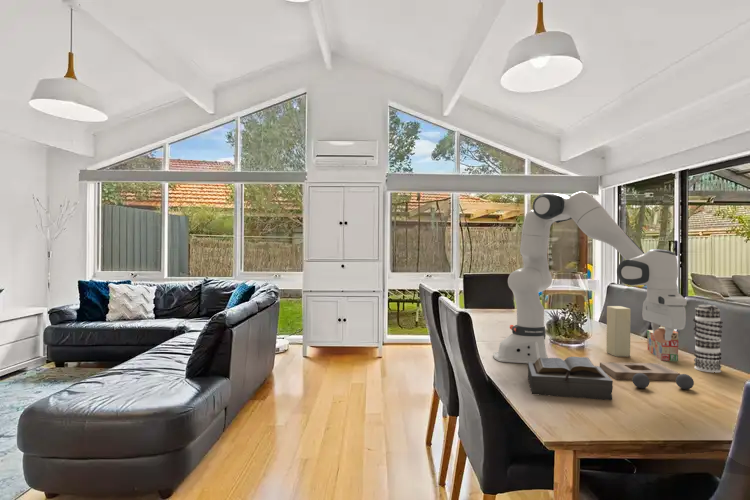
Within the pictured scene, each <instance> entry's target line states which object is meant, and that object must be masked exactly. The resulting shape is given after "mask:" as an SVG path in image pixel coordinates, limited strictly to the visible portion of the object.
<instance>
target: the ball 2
mask: <svg viewBox="0 0 750 500" xmlns="http://www.w3.org/2000/svg"><path fill="white" fill-rule="evenodd" d="M675 383H676V385H677V387H679V388H680V389H682V390H691V389H692V388H693V387H694V384H695V381H694V379H693V377H692V376H691V375H689V374H687V373H680V375H678V376H677V378H676V380H675Z"/></svg>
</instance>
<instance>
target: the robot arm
mask: <svg viewBox="0 0 750 500" xmlns="http://www.w3.org/2000/svg"><path fill="white" fill-rule="evenodd" d="M524 217H525V218H524V219H523V224H522V229H521V230H522V231H521V236H520V238H521V239H520V247H519V253H520V256H521V258H522V261H523V267H520V268H518V269H515V270H514V271H511V273H509V275H508V278H507V286H508V288H509V289H510V290H511V291H512V294H513V297H514V301H515V306H516V324H515V325H514V324H510V325H509V329H510V330H511V334H509V335H508V336H507V337H505V338H504V339H502V340H501V341H500V343H499V346H498V350H497V351H495V352H493V355H492V357H493V358H494V359H495V360H496V361H498V362H503V363H518V364H528V362H531V363H535V362H536V361H537V360H538V359H539V358H549V356H548V354H547V348H546V334H547V333H546V326H545V307H544V305H543V304H542V301H541V299H540V295H539V293H541V292H544V291H546V290H547V289H549V288H550V286H551V285H552V282H553V276H552V274H551V272H550V268H549V261H548V258H549V257H548V251H549V239H550V230H551V226H552V225H553V224H554V223H557V224H558V223H562V222H566V221H570V220H573V221H574V223H575V224H576V226H577V227H578V228H579V229H580V231H581V232H582V233H583V234H585V235H586V236H587V237H588V238H590V239H593V240H595V241H599V242H602V243H604V244H607V245H609V246H611V247H612V248H613V249H615V250H616V251H617V253H619V254H620V255H621V256H622V258H624V260H622V261H621V262H620V263H619V264H618V266H617V268H616V276H617V278H618V280H619V281H620V282H621V283H622V284H624V285H627V286H630V287H631V286H634V287H637V286H646V297H645V300H643V303H642V312H641V313H642V315H641V316H642V320H643V321H646V322H650V325H651V326H650V327H651V330H653V334H654V331H655V330H656V329H659V327H660V326H661V327H665V330H666V331H665V334H663V339H664V340H667V341H671V335H672V333H673V331H674V330H675V331H677V330H684V329H685V327H686V323H687V321H686V320H687V318H686V317H687V312H686V306H687V305H688V303H687V302H688V301H687V298H685V297H684V296H683V295H682V294H680V293H679V287H678V285H677V284H678V283H677V280H678V278H679V266H678V259H677V256H676V254H675V253H674V251H671V250H667V249H661V248H660V249H659V248H652V249H649V250H648V251H646V252H644V250H642V249H641V248H640V246H638V245H637V244H636V242H635V241H634V240H633V239H632V238H631V237H630V236H629V235H628V234H627V233H626V232H625V231H624V230H623V229H622V228H621V227H620V225H619V224H618V223H617V222H616V221H615V220H614V219H613V217H611V215H610V213H608V211H607V210H606V209H605V208H604V206H603V205H602V204H601V203H600V202H599V201H598V200H597V199H596V198H595V197H593V196H592V195H591V194H589V193H588V192H586V191H577V192H574V193H573V194H571V195H568V194H563V193H559V192H556V193H552V192H544V193H541V194H539V195H537V197H535V199H534V200H533V202H532V209H530V210H529V211H528V212H527V213H526V215H525V216H524Z"/></svg>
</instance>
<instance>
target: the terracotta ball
mask: <svg viewBox="0 0 750 500" xmlns="http://www.w3.org/2000/svg"><path fill="white" fill-rule="evenodd" d="M665 331H666V330H665V329H664V328H659V329H656V330H655V331H654V334H653V335H654V339H655V340H656V341H657V342H659V343H667V342H668V341H667V340H664V339H663V334H665Z"/></svg>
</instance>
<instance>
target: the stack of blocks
mask: <svg viewBox="0 0 750 500" xmlns="http://www.w3.org/2000/svg"><path fill="white" fill-rule="evenodd" d="M659 328H664V329H665V327H664V326H661V327H660V326H659ZM646 336H647V338H646V339H647V350H648V351H649V352H650V353H651V354H653V355H654V356H656V357H657V358H658V359H659V360H660V361H662V362H663V361H666V362H667V361H668V362H679V332H678V331H677V330H676V329H674V331H673V333H672V335H671V341H668V342H667V343H659V342H657V341H656V340H655V339H654V335H653V329H647V330H646Z"/></svg>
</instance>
